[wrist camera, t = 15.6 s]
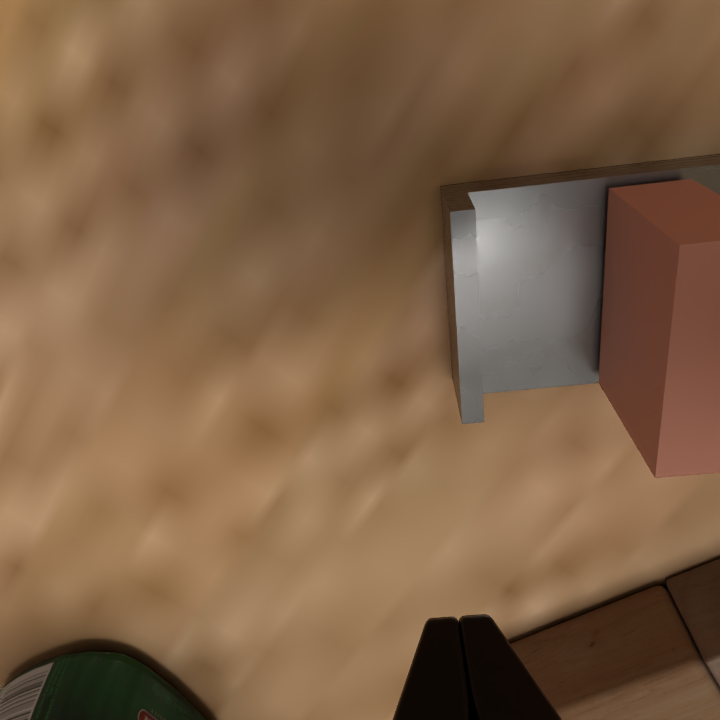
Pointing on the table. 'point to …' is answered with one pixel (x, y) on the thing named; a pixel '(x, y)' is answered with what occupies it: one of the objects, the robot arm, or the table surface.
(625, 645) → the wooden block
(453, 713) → the robot arm
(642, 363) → the block
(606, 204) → the vise
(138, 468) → the table surface
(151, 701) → the coffee jar
